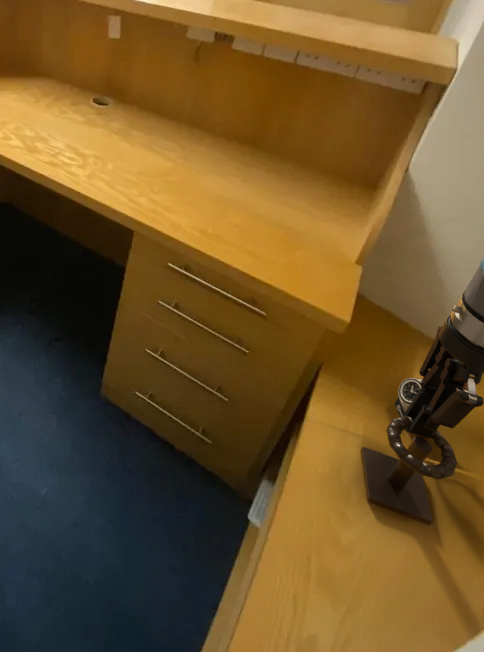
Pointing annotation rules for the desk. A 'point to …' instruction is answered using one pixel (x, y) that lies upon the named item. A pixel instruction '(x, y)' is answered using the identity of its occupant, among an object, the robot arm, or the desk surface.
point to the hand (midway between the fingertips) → (417, 424)
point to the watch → (407, 395)
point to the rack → (397, 481)
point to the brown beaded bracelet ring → (432, 471)
